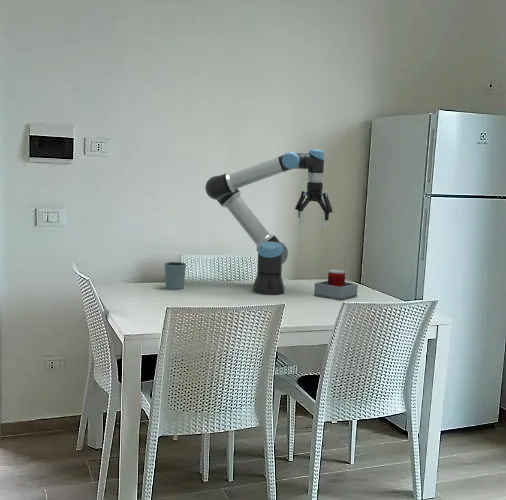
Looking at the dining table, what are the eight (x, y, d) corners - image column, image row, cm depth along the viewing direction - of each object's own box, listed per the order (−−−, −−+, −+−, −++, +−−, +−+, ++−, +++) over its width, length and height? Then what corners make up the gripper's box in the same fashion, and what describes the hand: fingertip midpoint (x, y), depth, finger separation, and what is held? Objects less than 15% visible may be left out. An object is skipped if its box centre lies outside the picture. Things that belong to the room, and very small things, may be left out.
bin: (314, 295, 327) (314, 283, 326) (330, 291, 338) (331, 279, 337) (340, 300, 318) (341, 287, 317) (356, 296, 329) (357, 284, 328)
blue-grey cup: (182, 286, 336) (183, 261, 334) (187, 290, 326) (188, 265, 325) (162, 286, 332) (162, 261, 331) (166, 290, 323) (166, 265, 321)
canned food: (347, 294, 327) (348, 271, 326) (335, 296, 322) (336, 272, 321) (335, 291, 333) (336, 269, 332) (323, 293, 328) (325, 270, 327)
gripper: (289, 180, 339) (287, 223, 341) (333, 183, 323) (330, 228, 326) (298, 180, 345) (296, 223, 347) (341, 183, 329) (338, 227, 332)
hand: (312, 225), depth 337 cm, fingers open, 13 cm apart
